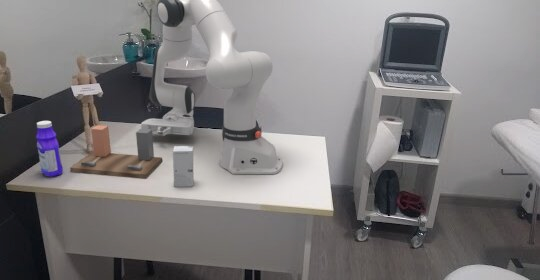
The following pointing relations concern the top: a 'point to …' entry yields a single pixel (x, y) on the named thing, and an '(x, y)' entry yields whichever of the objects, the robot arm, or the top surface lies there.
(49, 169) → the bottle
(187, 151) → the skincare box
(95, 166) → the wooden board
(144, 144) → the grey tall block
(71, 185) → the top surface
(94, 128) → the plug terracotta
